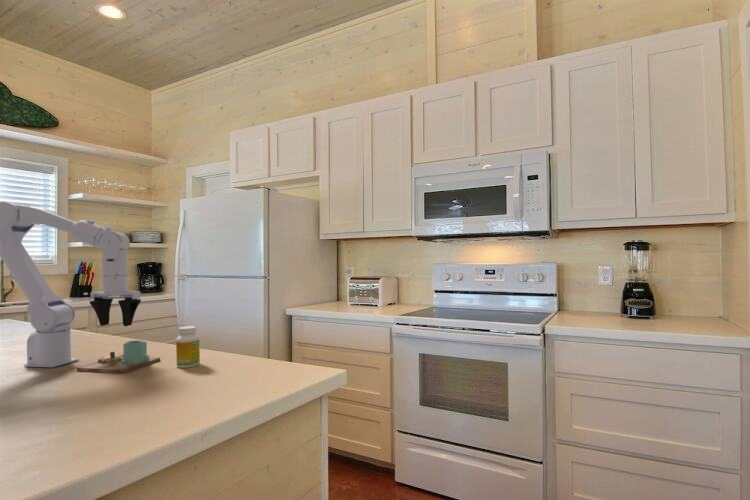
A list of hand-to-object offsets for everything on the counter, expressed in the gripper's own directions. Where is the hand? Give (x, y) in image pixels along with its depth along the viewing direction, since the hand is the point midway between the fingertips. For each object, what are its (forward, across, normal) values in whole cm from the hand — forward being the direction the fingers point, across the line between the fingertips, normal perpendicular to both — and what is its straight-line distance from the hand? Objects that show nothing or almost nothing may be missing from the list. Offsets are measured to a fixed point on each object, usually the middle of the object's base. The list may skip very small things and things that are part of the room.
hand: (116, 325), depth 115 cm
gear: (+9, +9, -4) cm, 13 cm away
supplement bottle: (+10, +24, -2) cm, 26 cm away
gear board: (+9, +6, -5) cm, 12 cm away
